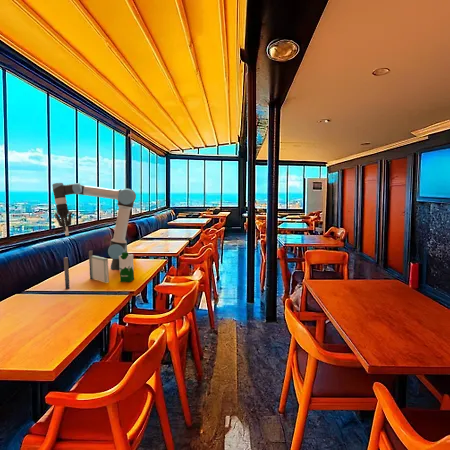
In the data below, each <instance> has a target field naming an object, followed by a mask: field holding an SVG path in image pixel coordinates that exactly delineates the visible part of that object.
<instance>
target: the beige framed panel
mask: <svg viewBox="0 0 450 450" xmlns="http://www.w3.org/2000/svg"><path fill="white" fill-rule="evenodd" d="M91 272H92V279H91V280H97V281H99V282H102V283H105V284H107V283H109V282H110V276H109V275H110V273H109V259H108V258H107V257H102V256H99V255H93V256H91Z"/></svg>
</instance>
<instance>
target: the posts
mask: <svg viewBox="0 0 450 450" xmlns="http://www.w3.org/2000/svg"><path fill="white" fill-rule="evenodd" d="M91 256H93V250H88V264H89V280H93V279H92V272H91ZM63 266H64V267H63V270H64V283H65V284H64V287H65V290H69V289H70V274H69V257H63Z"/></svg>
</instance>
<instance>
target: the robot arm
mask: <svg viewBox="0 0 450 450" xmlns="http://www.w3.org/2000/svg"><path fill="white" fill-rule="evenodd" d="M51 187H52V191H53V197H54V202H55V203H54V204H56V205H55V208H56V213H55V214H53V216H54V217H55V219H56V221H57V223H58V226H59V227H61V228H62V229H63V232H64V234H65V236H69V235H70V233H69V231H70V227H69V226H71V225H72V214H73V212H72V211H70V210H69V208H68V207H69V206H68V204H67V202H68V201H67V196H69V195H81V196H88V197H97V198H103V199H110V200H117V206H118V211H117V215H116V221H115V228H114V231H113V232H114V233H113V238H112V239H110V242H109V243H110V244H109V247H108V250H107V253H108V256H109V257H110V258H111V259H112V260H111V263H110V269H111V270H115V271H117V270H118V271H120V267H119V256H120V255H122V253H123V252H128V242H127V239H126V236H127V231H128V226H129V219H130V214H131V210H132V209H133V208H134V204H135V201H136V199H137V194H136V192H135V191H134V190H132V189H131V188H122V189H121V188H119V189H114V188H113V189H112V188H105V187H99V186H93V185H84V184H81V183H80V182H79V183H78V182H77V183H71V184H64V183H63V182H56V183H55V182H54V183H53V184H52V186H51Z"/></svg>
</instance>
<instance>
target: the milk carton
mask: <svg viewBox="0 0 450 450" xmlns="http://www.w3.org/2000/svg"><path fill="white" fill-rule="evenodd" d="M119 267H120V270H119V280H120V281H119V282H120V283H131V282H132V281H134V280H135V271H134V270H135V267H134V254H132V253H131V254H129V252H128V251H127V252H123V253H122V255H120V256H119Z"/></svg>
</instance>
